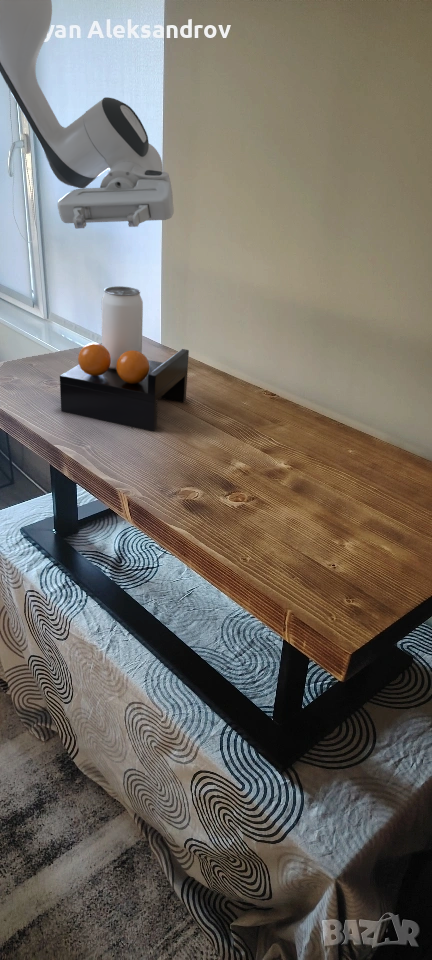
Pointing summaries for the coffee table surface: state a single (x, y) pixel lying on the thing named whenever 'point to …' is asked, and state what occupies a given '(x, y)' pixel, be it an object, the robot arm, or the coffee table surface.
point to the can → (121, 321)
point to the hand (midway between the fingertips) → (104, 223)
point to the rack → (122, 386)
